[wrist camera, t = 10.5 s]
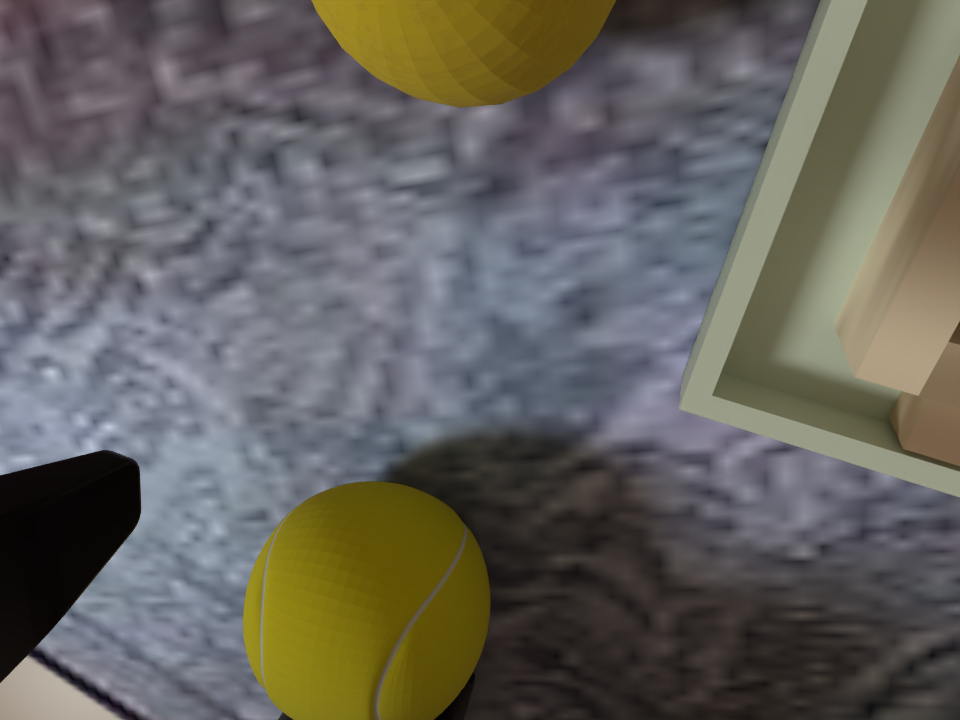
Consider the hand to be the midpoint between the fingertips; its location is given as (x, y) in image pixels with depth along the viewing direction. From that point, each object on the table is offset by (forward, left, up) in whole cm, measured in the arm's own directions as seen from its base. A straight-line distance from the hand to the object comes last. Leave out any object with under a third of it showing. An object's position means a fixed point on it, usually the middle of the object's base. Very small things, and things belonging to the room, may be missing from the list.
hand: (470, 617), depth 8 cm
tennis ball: (-10, +4, -12) cm, 16 cm away
